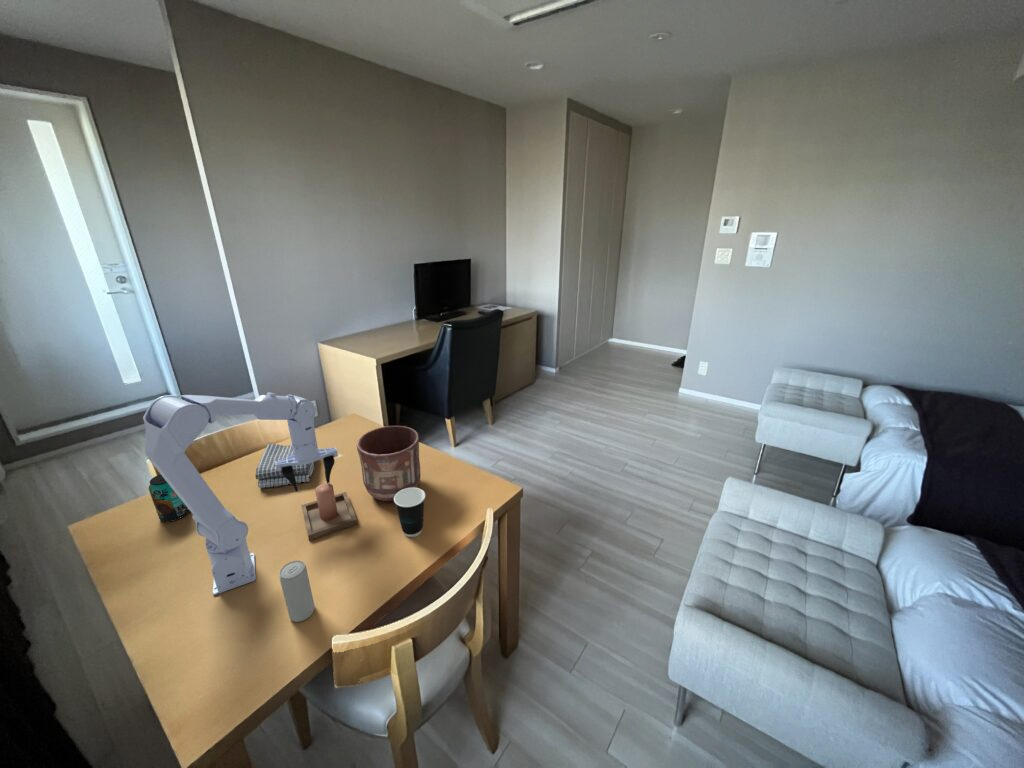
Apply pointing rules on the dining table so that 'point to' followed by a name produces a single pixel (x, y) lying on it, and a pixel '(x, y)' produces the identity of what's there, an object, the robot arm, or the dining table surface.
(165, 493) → the beverage can
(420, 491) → the dixie cup
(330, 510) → the dowel
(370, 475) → the pottery
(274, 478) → the towel
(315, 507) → the tray
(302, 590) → the beverage can
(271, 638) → the dining table surface
